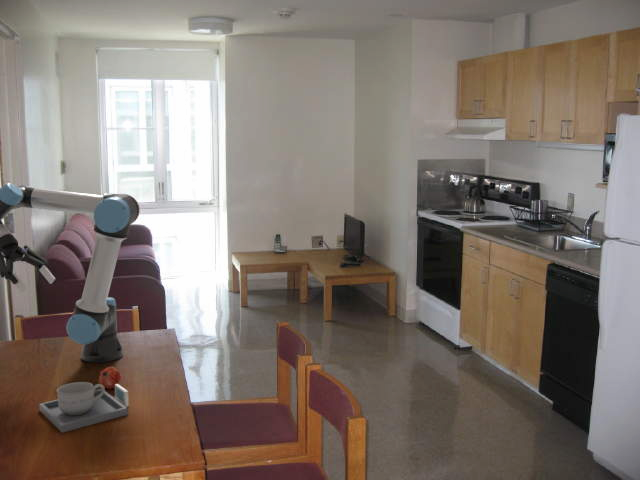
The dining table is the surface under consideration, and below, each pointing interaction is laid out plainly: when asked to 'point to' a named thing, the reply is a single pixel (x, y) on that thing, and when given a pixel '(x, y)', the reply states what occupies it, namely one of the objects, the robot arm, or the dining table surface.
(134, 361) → the dining table surface
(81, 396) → the teacup
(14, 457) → the dining table surface
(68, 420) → the tray
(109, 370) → the pomegranate
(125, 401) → the tag
